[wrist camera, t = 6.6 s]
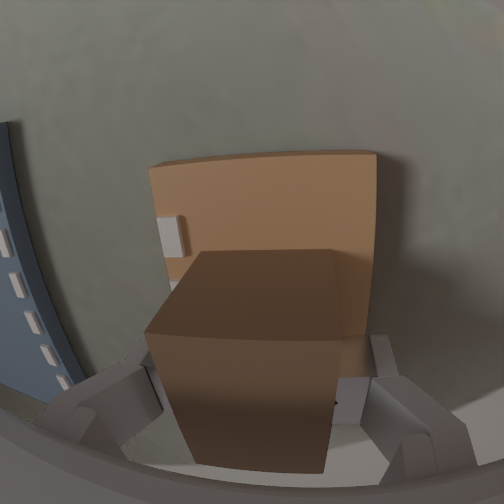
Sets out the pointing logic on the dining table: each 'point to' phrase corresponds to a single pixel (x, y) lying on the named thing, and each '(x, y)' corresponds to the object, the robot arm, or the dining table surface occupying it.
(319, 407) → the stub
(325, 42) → the dining table surface
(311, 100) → the dining table surface
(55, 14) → the dining table surface
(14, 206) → the blue-grey flat panel
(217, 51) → the dining table surface
